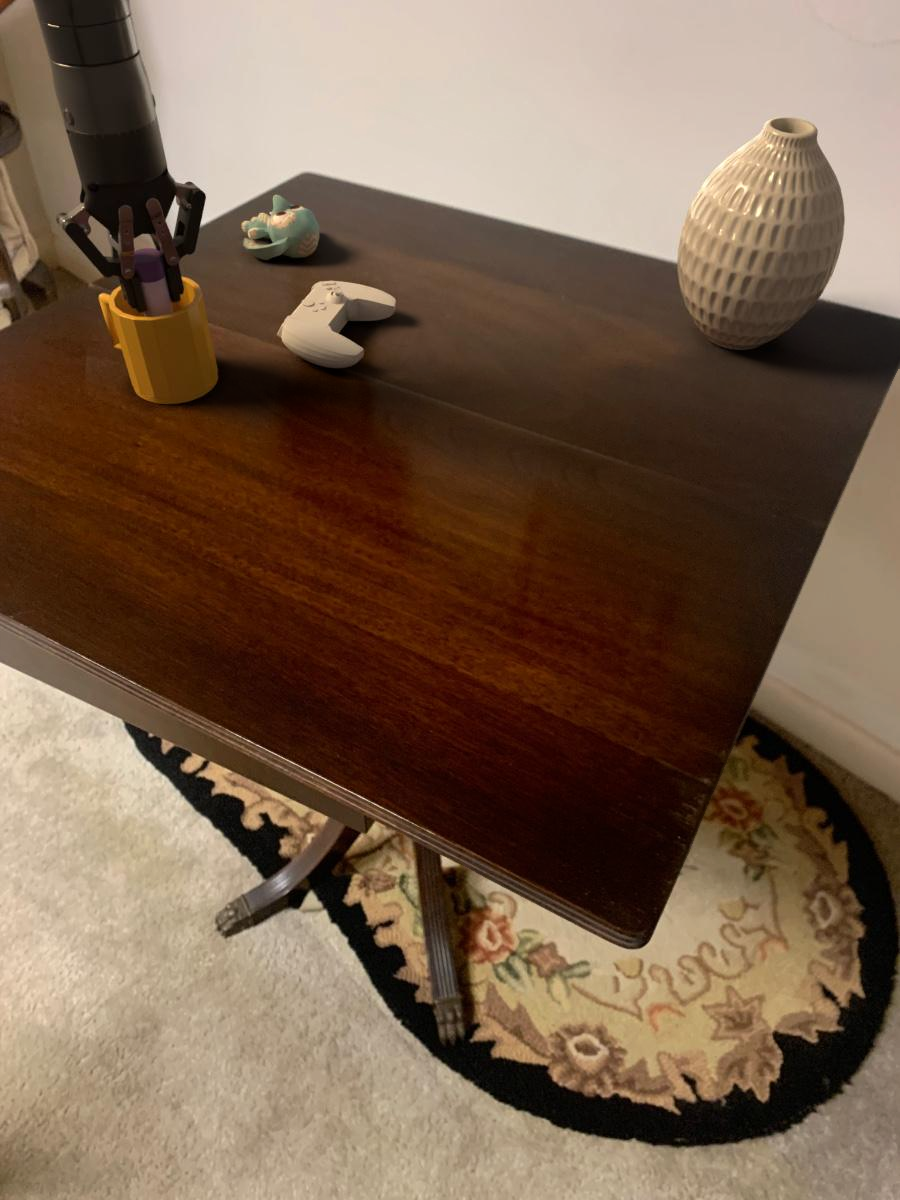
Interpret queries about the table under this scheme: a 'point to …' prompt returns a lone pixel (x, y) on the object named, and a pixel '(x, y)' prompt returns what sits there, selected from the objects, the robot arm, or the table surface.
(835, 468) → the table surface
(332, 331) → the game controller
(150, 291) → the glue stick
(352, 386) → the table surface
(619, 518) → the table surface
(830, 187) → the vase
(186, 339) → the mug
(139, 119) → the robot arm
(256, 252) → the green dragon head figurine
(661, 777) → the table surface
